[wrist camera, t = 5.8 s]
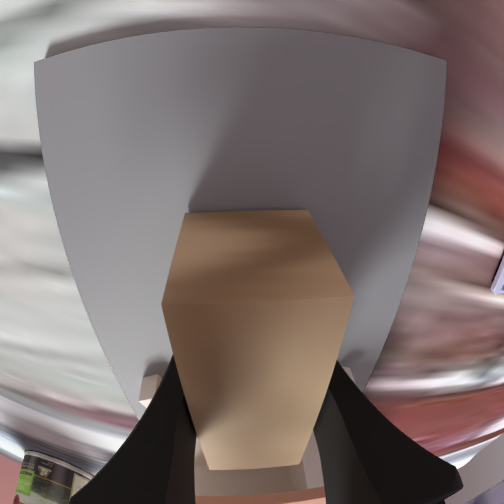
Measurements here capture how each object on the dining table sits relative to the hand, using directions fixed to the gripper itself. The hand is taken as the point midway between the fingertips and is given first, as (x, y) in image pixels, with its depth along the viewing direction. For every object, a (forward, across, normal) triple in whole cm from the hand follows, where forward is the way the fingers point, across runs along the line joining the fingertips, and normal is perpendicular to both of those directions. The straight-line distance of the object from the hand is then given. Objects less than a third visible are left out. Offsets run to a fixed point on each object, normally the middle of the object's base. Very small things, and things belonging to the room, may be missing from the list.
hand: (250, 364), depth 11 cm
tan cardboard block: (+2, 0, 0) cm, 2 cm away
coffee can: (+3, +24, +28) cm, 37 cm away
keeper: (+3, 0, +2) cm, 4 cm away
